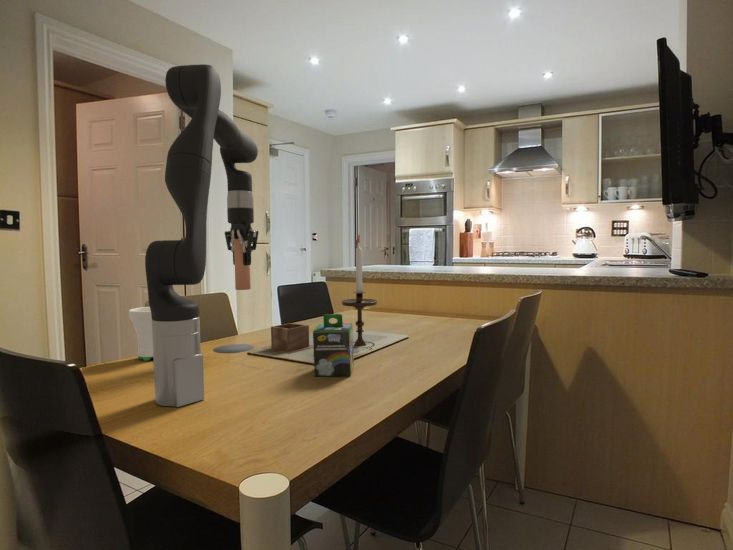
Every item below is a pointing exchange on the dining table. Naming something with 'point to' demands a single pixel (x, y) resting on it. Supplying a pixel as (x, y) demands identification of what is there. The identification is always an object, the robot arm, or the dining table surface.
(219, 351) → the coaster
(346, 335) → the chalk box
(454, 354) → the dining table surface
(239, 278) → the dowel
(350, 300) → the candlestick
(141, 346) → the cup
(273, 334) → the open wooden box
